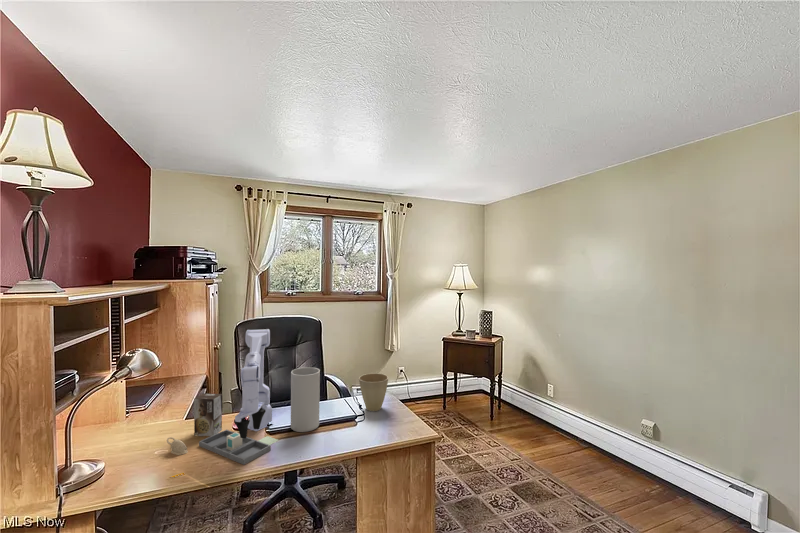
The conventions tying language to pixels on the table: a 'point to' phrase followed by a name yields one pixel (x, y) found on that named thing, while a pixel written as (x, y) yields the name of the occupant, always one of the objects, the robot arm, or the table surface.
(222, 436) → the tray
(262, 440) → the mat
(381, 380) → the plant pot
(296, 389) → the cylinder vase
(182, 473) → the pencil
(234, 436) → the letter block
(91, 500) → the table surface
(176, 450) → the decorative ornament
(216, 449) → the tray
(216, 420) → the coffee box
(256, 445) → the tray
